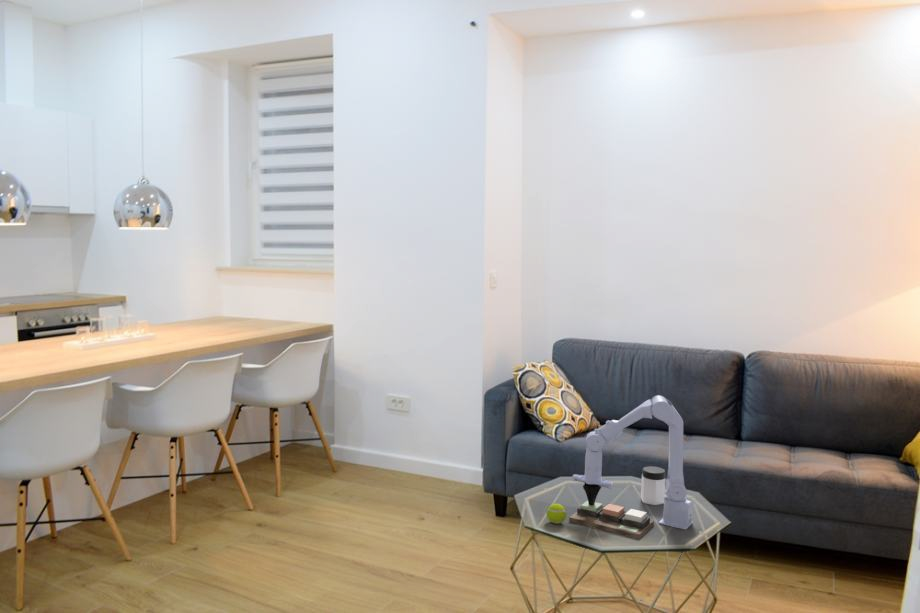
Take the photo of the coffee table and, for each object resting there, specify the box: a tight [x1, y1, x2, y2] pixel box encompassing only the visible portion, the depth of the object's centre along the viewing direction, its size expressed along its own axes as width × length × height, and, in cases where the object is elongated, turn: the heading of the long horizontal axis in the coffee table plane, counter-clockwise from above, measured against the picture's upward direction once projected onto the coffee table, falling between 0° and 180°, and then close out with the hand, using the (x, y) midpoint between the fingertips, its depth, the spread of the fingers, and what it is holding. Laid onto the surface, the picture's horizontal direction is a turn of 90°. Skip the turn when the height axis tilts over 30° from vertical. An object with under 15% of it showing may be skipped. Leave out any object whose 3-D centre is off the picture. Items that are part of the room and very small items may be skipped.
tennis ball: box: [546, 503, 567, 525], centre depth 264 cm, size 7×7×7 cm
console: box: [568, 505, 655, 540], centre depth 266 cm, size 25×14×3 cm, turn 57°
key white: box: [625, 508, 648, 523], centre depth 262 cm, size 6×6×2 cm
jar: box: [640, 465, 666, 506], centre depth 287 cm, size 9×8×12 cm
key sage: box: [580, 499, 603, 512], centre depth 271 cm, size 6×6×2 cm
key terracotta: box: [603, 503, 625, 517], centre depth 267 cm, size 6×6×2 cm
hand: (591, 504), depth 271 cm, fingers closed, pressing on key sage
